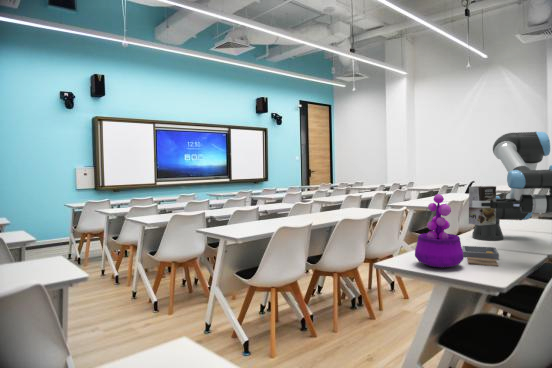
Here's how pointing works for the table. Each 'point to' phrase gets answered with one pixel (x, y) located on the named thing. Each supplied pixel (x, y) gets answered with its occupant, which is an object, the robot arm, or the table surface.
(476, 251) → the grey square tray
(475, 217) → the coffee box
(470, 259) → the walnut pad
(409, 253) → the table surface
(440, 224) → the decorative plant
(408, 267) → the table surface
